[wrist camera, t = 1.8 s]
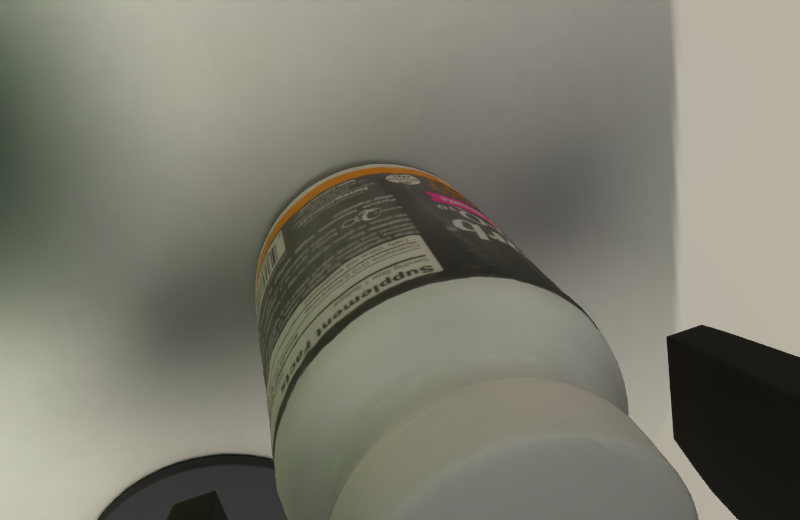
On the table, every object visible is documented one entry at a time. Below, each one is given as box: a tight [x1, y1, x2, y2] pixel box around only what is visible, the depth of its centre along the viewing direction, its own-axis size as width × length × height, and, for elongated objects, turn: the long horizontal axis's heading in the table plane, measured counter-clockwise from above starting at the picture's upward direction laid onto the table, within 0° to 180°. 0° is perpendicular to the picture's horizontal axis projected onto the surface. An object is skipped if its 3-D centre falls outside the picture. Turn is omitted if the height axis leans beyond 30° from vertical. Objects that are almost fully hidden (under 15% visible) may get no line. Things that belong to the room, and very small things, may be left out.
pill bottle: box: [255, 164, 698, 520], centre depth 13 cm, size 6×6×10 cm
